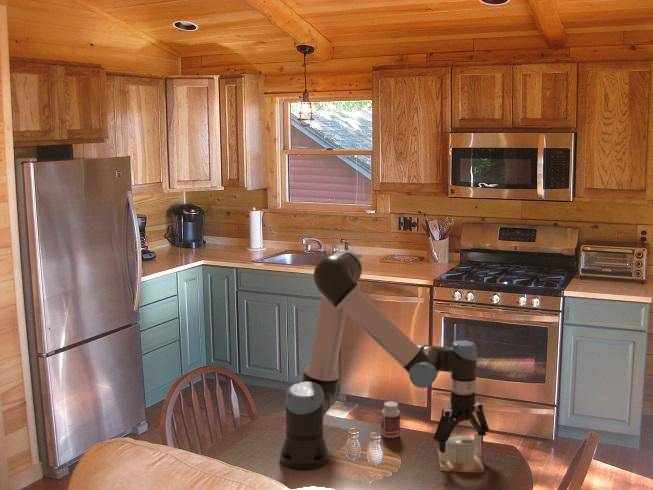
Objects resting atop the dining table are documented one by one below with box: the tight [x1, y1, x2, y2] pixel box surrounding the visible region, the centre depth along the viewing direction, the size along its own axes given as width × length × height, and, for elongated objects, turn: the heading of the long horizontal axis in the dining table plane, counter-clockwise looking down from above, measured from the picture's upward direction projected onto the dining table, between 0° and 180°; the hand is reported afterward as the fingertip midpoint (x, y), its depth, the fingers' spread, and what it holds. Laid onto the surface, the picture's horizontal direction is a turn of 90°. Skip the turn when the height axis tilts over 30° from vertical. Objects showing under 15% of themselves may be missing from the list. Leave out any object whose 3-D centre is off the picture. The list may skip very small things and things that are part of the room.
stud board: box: [436, 446, 485, 474], centre depth 239 cm, size 13×14×5 cm
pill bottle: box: [380, 401, 401, 439], centre depth 258 cm, size 6×6×11 cm
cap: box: [446, 435, 475, 464], centre depth 239 cm, size 8×8×6 cm
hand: (460, 457), depth 239 cm, fingers closed on stud board, 12 cm apart
